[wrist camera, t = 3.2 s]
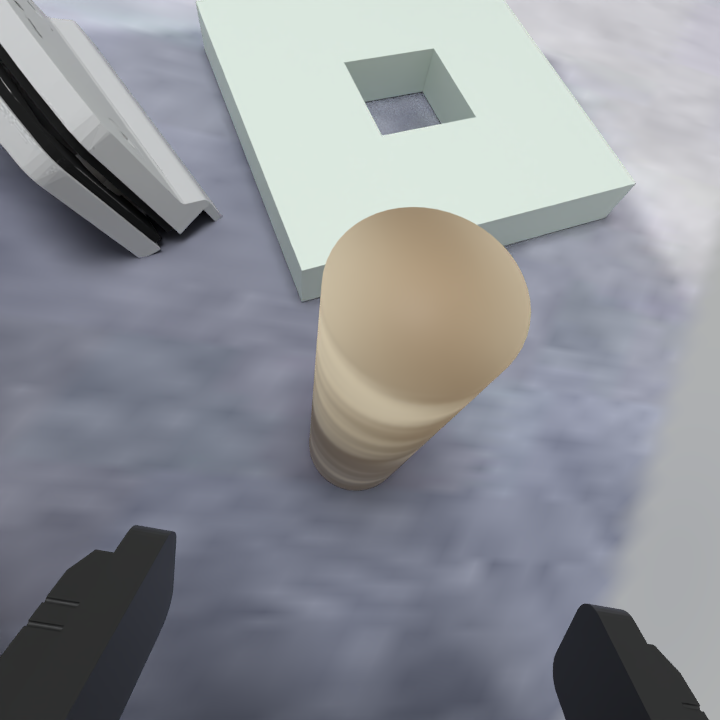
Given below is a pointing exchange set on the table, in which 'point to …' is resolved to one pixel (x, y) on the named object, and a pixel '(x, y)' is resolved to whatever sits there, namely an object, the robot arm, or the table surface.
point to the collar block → (409, 148)
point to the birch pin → (407, 337)
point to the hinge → (88, 133)
